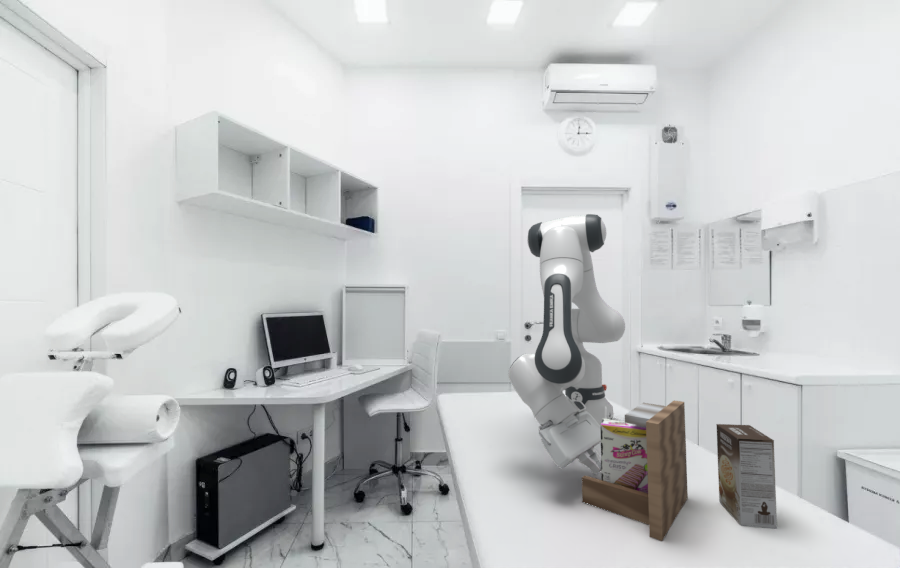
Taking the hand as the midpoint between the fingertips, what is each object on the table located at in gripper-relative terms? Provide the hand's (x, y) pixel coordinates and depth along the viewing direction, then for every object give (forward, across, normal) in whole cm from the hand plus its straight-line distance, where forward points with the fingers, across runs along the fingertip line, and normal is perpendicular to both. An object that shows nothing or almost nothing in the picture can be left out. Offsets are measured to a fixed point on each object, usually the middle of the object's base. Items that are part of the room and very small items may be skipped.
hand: (600, 471), depth 86 cm
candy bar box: (+8, -1, -1) cm, 8 cm away
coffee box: (+21, +10, -14) cm, 27 cm away
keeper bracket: (+7, 0, 0) cm, 7 cm away
